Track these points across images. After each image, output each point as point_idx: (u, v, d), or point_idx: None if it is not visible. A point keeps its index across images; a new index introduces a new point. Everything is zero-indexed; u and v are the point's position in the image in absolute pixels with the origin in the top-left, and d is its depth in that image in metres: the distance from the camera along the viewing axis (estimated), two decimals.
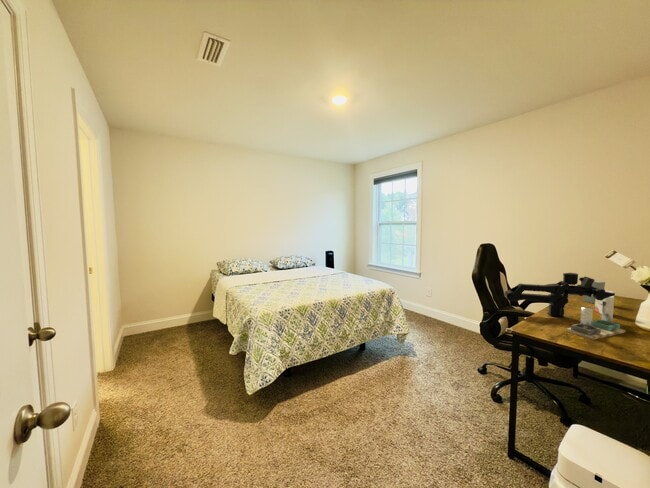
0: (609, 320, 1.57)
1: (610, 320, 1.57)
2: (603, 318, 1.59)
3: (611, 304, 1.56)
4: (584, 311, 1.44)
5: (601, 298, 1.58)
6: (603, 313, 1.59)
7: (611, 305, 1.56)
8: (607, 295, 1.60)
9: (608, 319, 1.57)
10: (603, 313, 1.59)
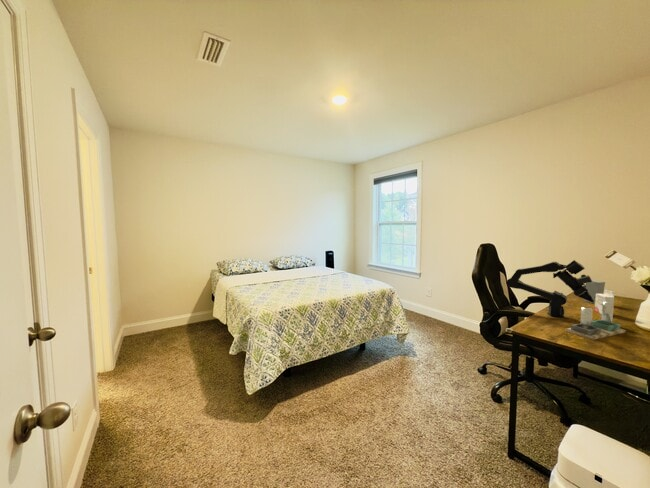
0: (609, 320, 1.57)
1: (610, 320, 1.57)
2: (603, 318, 1.59)
3: (611, 304, 1.56)
4: (584, 311, 1.44)
5: (577, 294, 1.60)
6: (603, 313, 1.59)
7: (611, 305, 1.56)
8: (586, 297, 1.60)
9: (608, 319, 1.57)
10: (603, 313, 1.59)
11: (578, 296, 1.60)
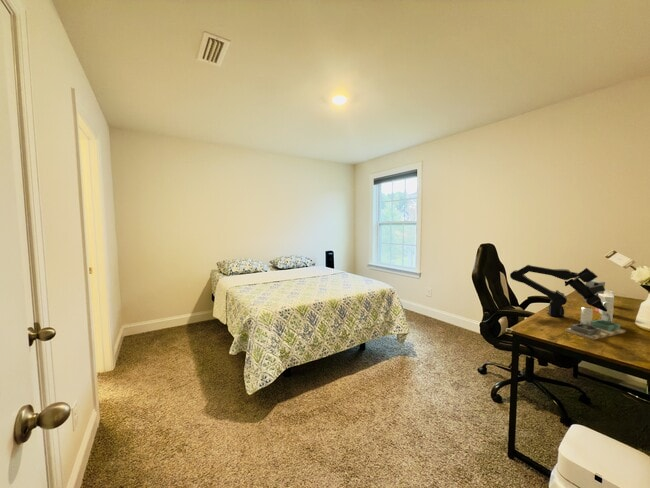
0: (609, 320, 1.57)
1: (610, 320, 1.57)
2: (603, 318, 1.59)
3: (611, 304, 1.56)
4: (584, 311, 1.44)
5: (590, 303, 1.56)
6: (603, 313, 1.59)
7: (611, 305, 1.56)
8: (599, 306, 1.57)
9: (608, 319, 1.57)
10: (603, 313, 1.59)
11: (591, 305, 1.57)
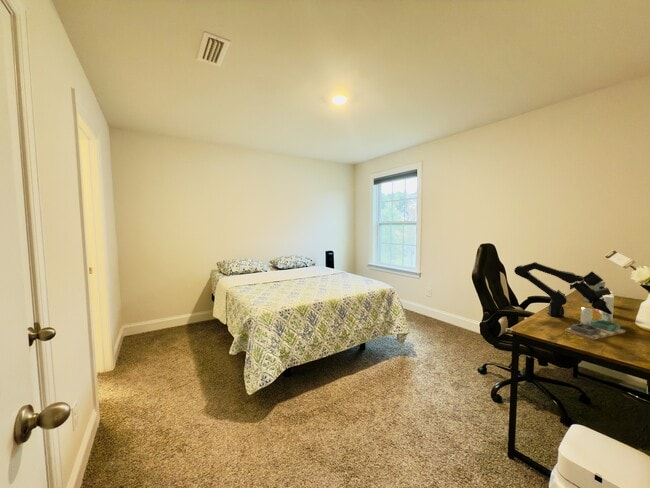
0: (609, 320, 1.57)
1: (610, 320, 1.57)
2: (603, 318, 1.59)
3: (611, 304, 1.56)
4: (584, 311, 1.44)
5: (596, 307, 1.55)
6: (603, 313, 1.59)
7: (611, 305, 1.56)
8: (604, 309, 1.57)
9: (608, 319, 1.57)
10: (604, 313, 1.59)
11: None
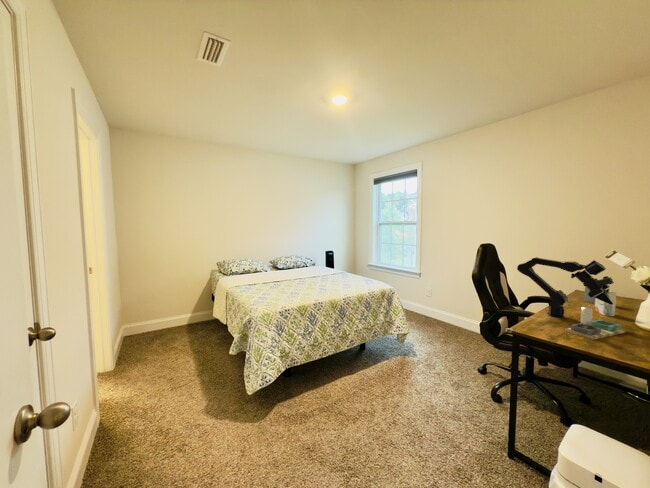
0: (610, 310, 1.53)
1: (611, 310, 1.52)
2: (604, 308, 1.55)
3: (612, 294, 1.52)
4: (584, 311, 1.44)
5: (592, 295, 1.53)
6: (604, 303, 1.55)
7: (613, 295, 1.52)
8: (604, 299, 1.53)
9: (609, 310, 1.53)
10: (605, 303, 1.54)
11: (594, 297, 1.55)
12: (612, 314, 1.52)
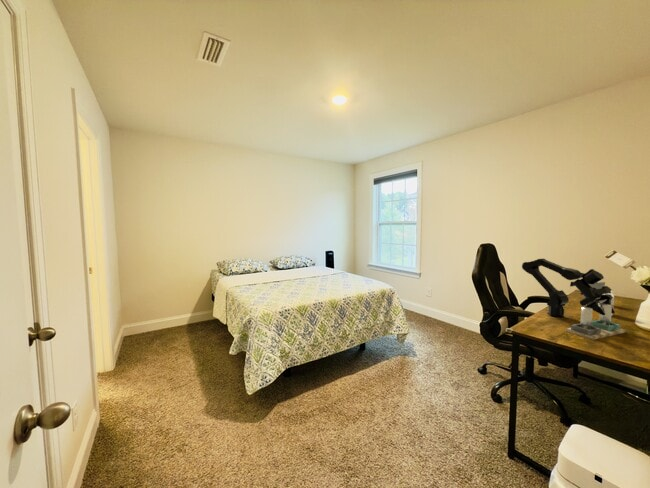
0: (604, 323, 1.50)
1: (606, 323, 1.49)
2: (599, 320, 1.52)
3: (606, 306, 1.49)
4: (584, 311, 1.44)
5: (582, 304, 1.52)
6: None
7: (606, 307, 1.49)
8: (595, 309, 1.50)
9: (604, 322, 1.50)
10: (600, 316, 1.52)
11: (585, 306, 1.53)
12: None
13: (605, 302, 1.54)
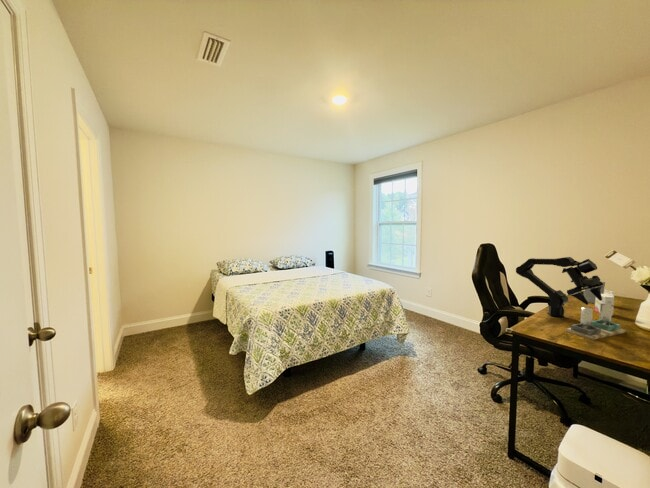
0: (604, 323, 1.50)
1: (606, 323, 1.49)
2: (599, 321, 1.52)
3: (606, 306, 1.49)
4: (584, 311, 1.44)
5: (568, 293, 1.61)
6: None
7: (607, 307, 1.49)
8: (580, 298, 1.59)
9: (604, 322, 1.50)
10: (600, 316, 1.52)
11: (571, 295, 1.61)
12: None
13: (595, 289, 1.60)
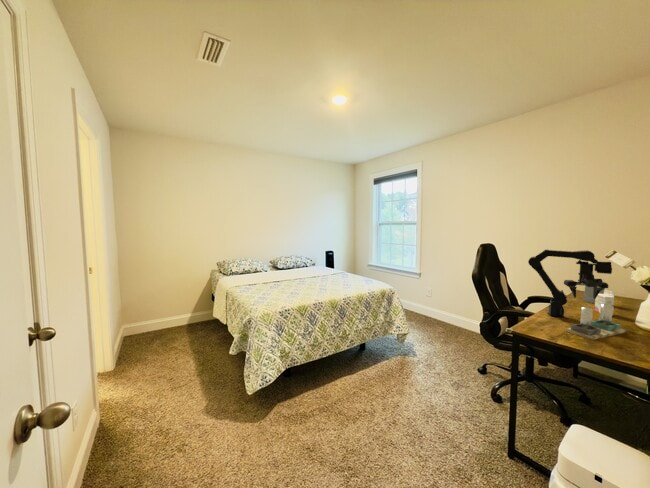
0: (604, 323, 1.50)
1: (606, 323, 1.49)
2: (599, 322, 1.52)
3: (607, 306, 1.48)
4: (584, 311, 1.44)
5: (564, 283, 1.69)
6: (600, 315, 1.52)
7: (607, 308, 1.48)
8: (572, 291, 1.67)
9: (604, 322, 1.50)
10: (600, 316, 1.52)
11: (566, 285, 1.70)
12: None
13: (596, 288, 1.63)
